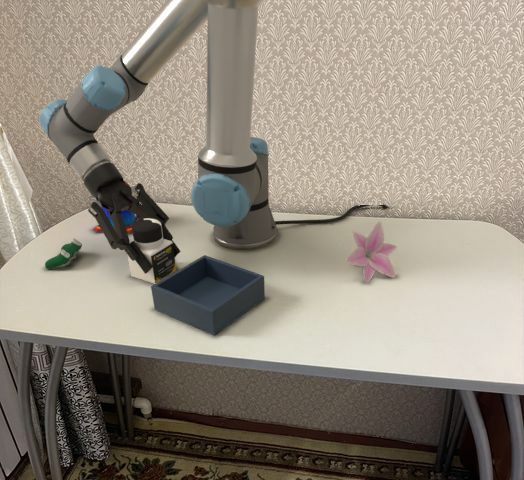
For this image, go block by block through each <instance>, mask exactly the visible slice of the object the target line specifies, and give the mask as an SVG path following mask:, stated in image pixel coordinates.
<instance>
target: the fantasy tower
mask: <svg viewBox="0 0 524 480" xmlns="http://www.w3.org/2000/svg"><path fill="white" fill-rule="evenodd" d="M124 182H125V183H126V184H127V185H129V186H130V187H131V185H130V184H129V183H128V182H127V181H126V180H124ZM132 205H133V203H132ZM132 205H131V206H132ZM102 208H103V207H102ZM103 210H104V212H105V213H106V215H107V217H108V219H109V220H110V222H111V224H112V226H113V228H114V225H113V222H112V219H110V216H109V212H108V210H107V209H105V208H103ZM121 214H122V217H123V221H124V224H125V227H126V230H127V234H128V235H133V232H132V225H133V224H134V223H135V222H136V221H138V220H141V218H140V217H138V216H137V215H136V214H134V213H133V212H129V211H128V210H125V211H122V213H121ZM114 229H115V228H114ZM92 231H93V232H95V234H100V233H103V231H102V229H101V228H100V226H99V224H98V225H96V226H95V227H94V228H93V229H92Z"/></svg>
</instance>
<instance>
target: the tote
mask: <svg viewBox="0 0 524 480" xmlns="http://www.w3.org/2000/svg"><path fill="white" fill-rule="evenodd" d="M150 290H151V295H152V301H153V306H154V310H155V311H157V312H160V313H162V314H163V315H167V316H169V317H171V318H173V319H175V320H178V321H180V322H182V323H185V324H187V325H189V326H192V327H194V328H195V329H198V330H200V331H203V332H205V333H208V334H210V335H211V336H216V335H217V334H219V333H220V332H222V331H223V330H225V328H227V327H228V326H230V325H231V324H232V323H234V322H235V321H236V320H238V319H239V318H241V317H242V316H243V315H245V314H246V313H247V312H249V311H250V310H251V309H253V308H255V307H256V306H257V305H258V304H260V303H261V302H263V301H264V300H265V299H266V298H265V297H266V296H265V295H266V290H265V275H263V274H261V273H258V272H254V271H252V270H248V269H245V268H243V267H240V266H237V265H234V264H231V263H229V262H226V261H223V260H221V259H217V258H214V257H212V256H209V255H206V254H204V255H202V256H200V257H199V258H197V259H195V260H193V261H192V262H190V263H187V264H186V265H185V266H183V267H181V268H180V269H177V270H176V271H175V272H173V273H172V274H170V275H169V276H167V277H166V278H164V279H163V280H161V281H159V282H158V283H156V284H154V283H153V284H152V285H151V286H150Z"/></svg>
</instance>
